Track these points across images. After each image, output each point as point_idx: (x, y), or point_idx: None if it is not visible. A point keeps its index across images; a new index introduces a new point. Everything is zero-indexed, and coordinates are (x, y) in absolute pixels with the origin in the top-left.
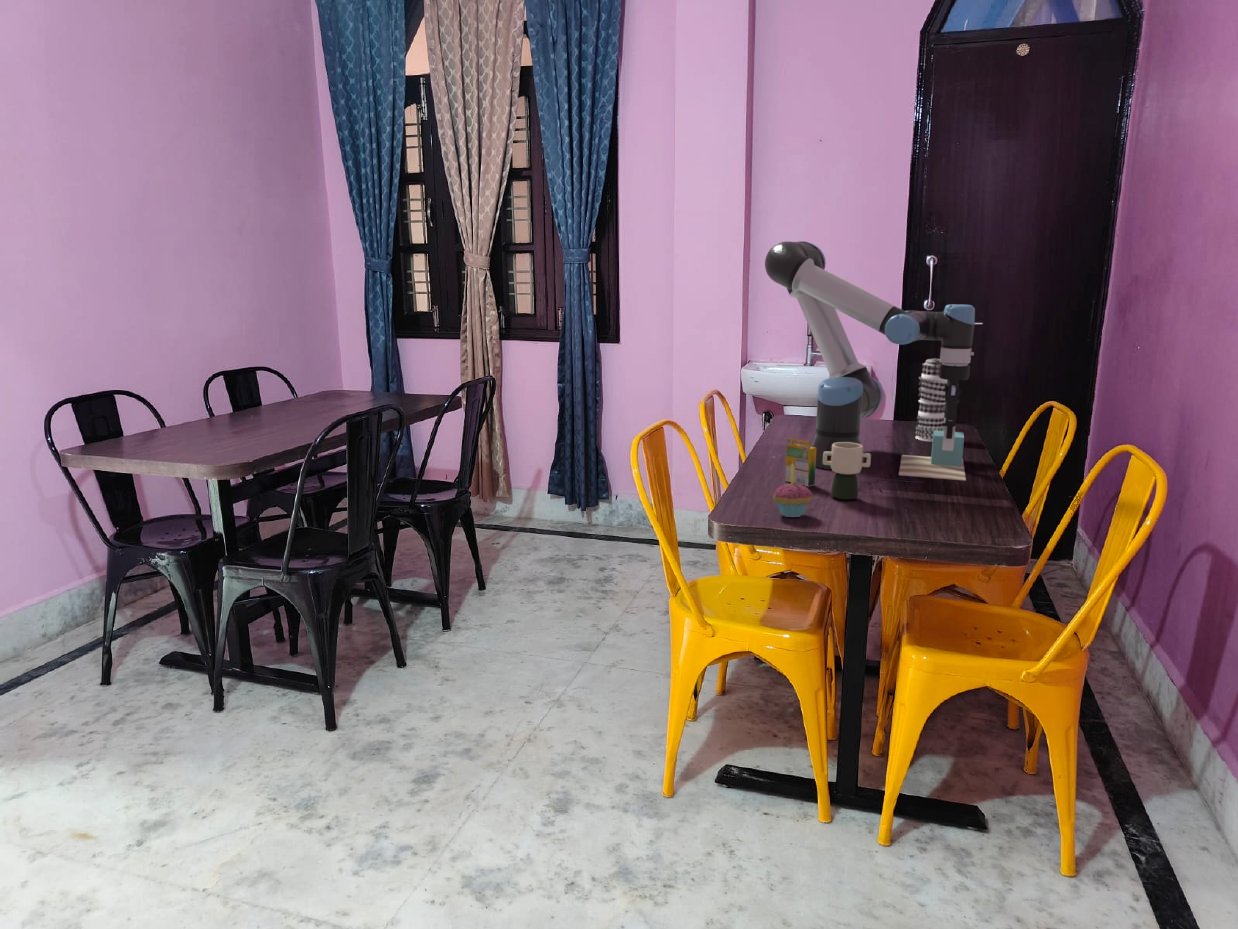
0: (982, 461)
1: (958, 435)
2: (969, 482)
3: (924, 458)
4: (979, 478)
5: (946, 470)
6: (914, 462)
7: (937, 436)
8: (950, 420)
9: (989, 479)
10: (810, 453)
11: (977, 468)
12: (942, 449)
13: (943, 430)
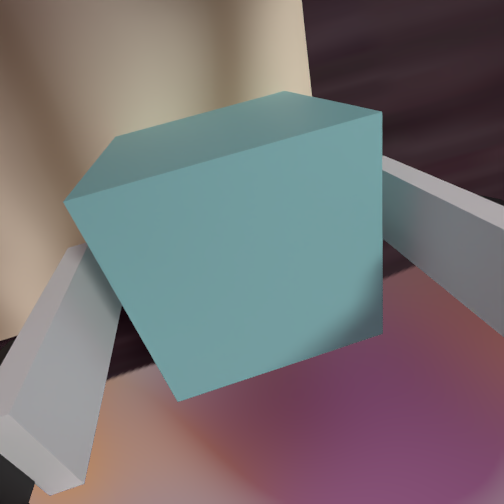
0: (402, 270)
1: (241, 352)
2: (10, 339)
3: (247, 53)
4: (114, 341)
5: (24, 251)
6: (76, 13)
7: (85, 236)
8: (500, 296)
9: (126, 366)
10: None
11: None
12: (68, 251)
13: (422, 194)
